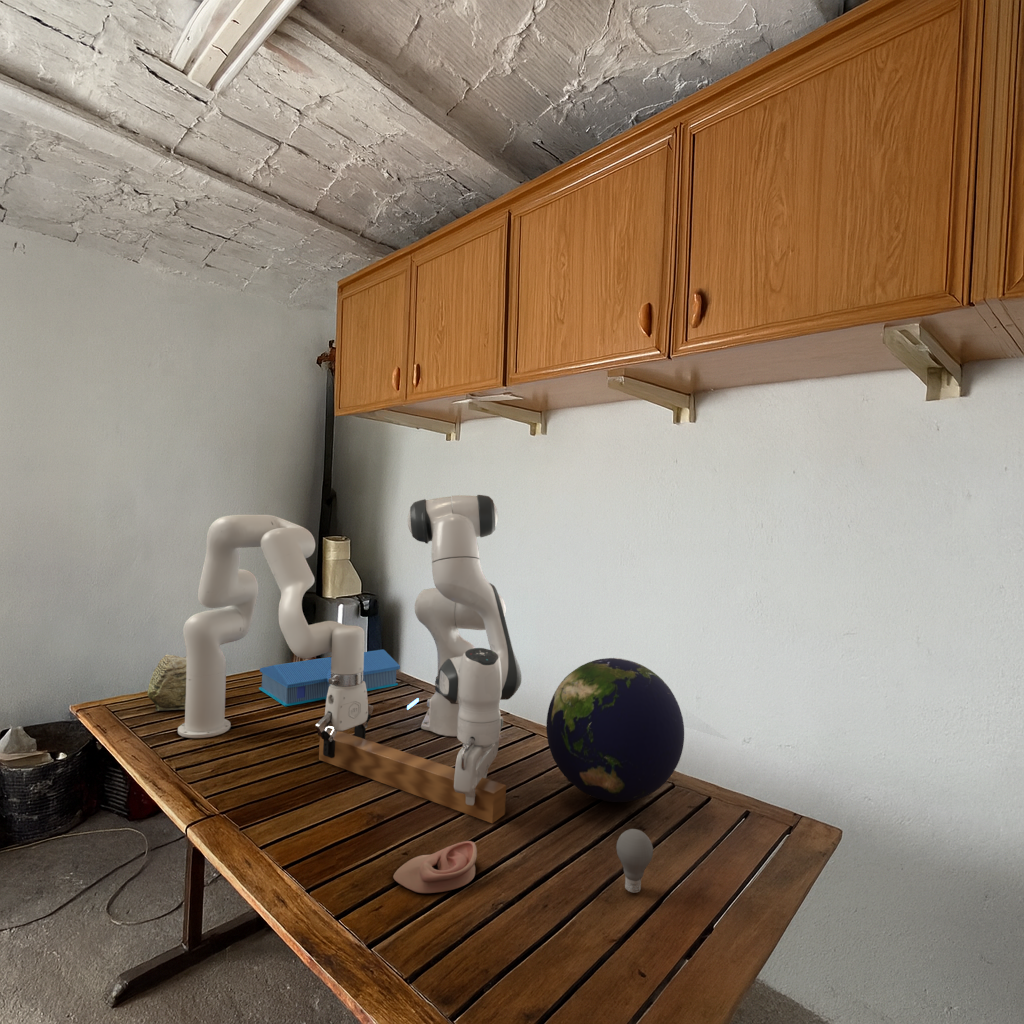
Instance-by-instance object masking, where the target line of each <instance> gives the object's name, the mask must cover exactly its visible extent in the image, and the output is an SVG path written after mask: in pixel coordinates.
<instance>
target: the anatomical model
mask: <svg viewBox="0 0 1024 1024" xmlns="http://www.w3.org/2000/svg"><path fill="white" fill-rule="evenodd" d="M477 858H478V849H477V845H476V843H475V842H474V841H472V840H465V841H460V842H457V843H455V844H451V845H449V846H446V847H444V848H442V849H439V850H438V851H435V852H433V853H432V854H422V855H417V856H415V857H413V858H411V859H409V860H407V861H406V862H405V863H403V864H402V865H401V866H400V867H399V868H397V870H396V871H395V872H394V874H393V876H392V878H393V879H394V881H395V882H396V883H398V884H399V885H400V886H402V887H404V888H406V889H408V890H410V891H412V892H414V893H418V894H435V893H443V892H448V891H452V890H456V889H459V888H462V887H464V886H466V885H468V884H469V883H471V882H472V881H473V880H474V878H475V876H476V865H475V863H476V861H477Z"/></svg>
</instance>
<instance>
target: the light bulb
mask: <svg viewBox="0 0 1024 1024" xmlns="http://www.w3.org/2000/svg"><path fill="white" fill-rule="evenodd" d="M615 849H616V854H617V857H618V859H619V861H620V863H621V865H622V867H623V873H624V874H623V875H624V876H625V878H624V888H625V890H627V891H628V892H630V893H634V894H635V893H639V892H640V891H641V889H642V887H641V886H642V879H643V877H644V875H645V871H646V868H647V867H648V866H649V864H650V863H651V861H652V859H653V855H654V847H653V843H652V841H651V838H649V836H648V835H647V834H646V833H645V832H643V831H642V830H641V829H636V828H629V829H627V830H625V831H623V832H622V833H621V834H620V835H619V837H618V839H617V841H616V847H615Z"/></svg>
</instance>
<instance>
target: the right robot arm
mask: <svg viewBox="0 0 1024 1024" xmlns="http://www.w3.org/2000/svg"><path fill="white" fill-rule="evenodd" d="M498 521H499V512H498V509H497V506H496V504H495V502H494V499H493V498H492V497H490V495H489V496H488V495H485V494H477V495H464V494H463V495H460V494H459V495H451V496H443V497H437V498H431V499H425V498H423V499H420V500H417V501H414V502H413V503H412V504H411V505H410V507H409V511H408V515H407V527H408V530H409V532H410V534H411V536H412V538H413V539H415V540H416V541H417V542H421V543H425V544H429V542H431V572H432V580H433V583H434V586H435V587H432V588H425V589H422V590H421V591H420V593H419V594H418V595H417V596H416V599H415V602H414V613H415V616H416V618H417V620H418V621H419V622H420V623H421V624H422V625H423V626H424V627H425V628H426V629H427V630H428V632H429V633H430V635H431V636H432V638H433V641H434V644H435V647H436V652H437V675H436V676H435V681H434V689H435V692H434V694H432V695H431V698H427V701H426V707H427V708H428V710H427V711H426V713H425V716H424V718H423V720H422V722H421V724H420V726H421V727H420V729H421V730H424V731H430V732H432V733H434V734H437V735H440V736H445V737H456V738H457V740H458V741H459V742H461V743H462V747H461V749H460V750H459V751H458V753H457V755H456V759H455V765H454V768H455V776H454V790H455V792H457V793H462V794H465V795H466V804H467V805H474V803H475V802H476V794H475V789H476V786H477V785H478V783H479V782H480V780H481V779H482V777H483V778H486V779H487V776H488V771H489V768H490V767H491V765H492V763H493V762H494V761H495V759H496V758H497V755H498V752H499V746H500V745H499V744H500V738H501V730H502V728H503V726H504V717H503V716H501V715H502V714H501V713H502V712H501V709H500V703H501V701H505V700H506V701H507V700H510V699H511V698H512V697H513V696H515V694H516V693H517V692H518V690H519V689H520V687H521V684H522V670H521V668H520V667H521V666H520V664H519V661H518V659H517V657H516V654H515V650H514V648H513V644H512V641H511V637H510V632H509V629H508V624H507V621H506V614H507V605H506V602H505V600H504V598H503V596H501V595H500V593H498V590H497V588H496V586H495V585H494V584H492V583H491V582H489V580H488V579H487V578H486V576H485V574H484V571H483V568H482V564H481V558H480V547H479V543H478V537H479V538H485V537H488V536H490V535H492V534H493V533H494V532H495V531H496V527H497V525H498ZM459 630H471V631H472V630H473V631H485V633H486V636H487V637H486V638H487V641H488V646H489V648H484V647H475V646H474V644H472V643H471V642H470V641H468V640H466V639H465V638H464V637H463V636H462V635H461V633H460V631H459ZM419 699H420V698H419V697H417V698H416V699H414V700H413V701H412V702H410V703H409V704H407V706H406V710H409V709H411V708H412V707H413V706H415V705H417V703H419Z"/></svg>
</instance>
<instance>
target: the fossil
mask: <svg viewBox="0 0 1024 1024" xmlns="http://www.w3.org/2000/svg"><path fill="white" fill-rule="evenodd" d="M186 666H187V657H186V656H183V657H182V656H178V655H175V654H174V655H173V654H165V655H164V656H163V657H162V658H161V659H160V660H159V662H158V663H157V666H156V667H155V669H154V670H153V672H152V675H151V677H150V680H149V684H148V688H147V697H148V699H149V700H150V701H152V703H153V704H154V706H155V711H158V712H159V711H162V712H163V711H177V710H185V701H186Z"/></svg>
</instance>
